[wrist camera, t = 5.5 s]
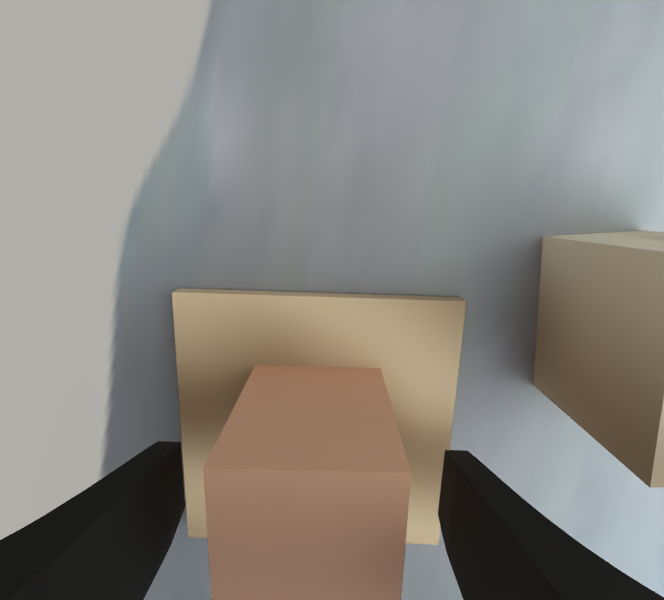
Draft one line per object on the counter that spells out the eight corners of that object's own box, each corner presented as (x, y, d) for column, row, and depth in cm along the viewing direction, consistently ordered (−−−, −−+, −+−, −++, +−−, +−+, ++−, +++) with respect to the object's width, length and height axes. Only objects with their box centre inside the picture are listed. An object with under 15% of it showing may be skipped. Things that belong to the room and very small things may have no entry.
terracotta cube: (374, 476, 13) (398, 633, 8) (257, 474, 13) (213, 629, 8) (380, 367, 12) (411, 472, 7) (255, 364, 12) (202, 468, 7)
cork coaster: (434, 530, 14) (438, 544, 14) (194, 523, 14) (188, 537, 14) (460, 297, 12) (466, 301, 12) (179, 288, 12) (171, 292, 12)
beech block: (532, 384, 13) (621, 379, 13) (650, 487, 8) (792, 480, 8) (542, 236, 12) (639, 230, 12) (685, 254, 7) (851, 244, 7)
